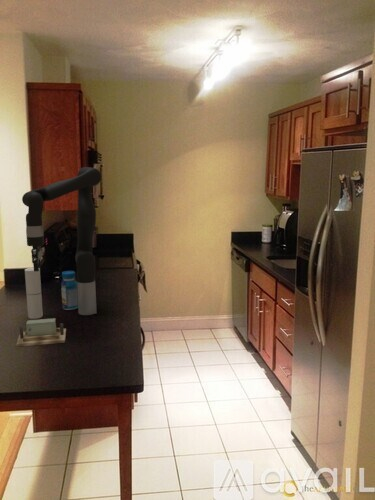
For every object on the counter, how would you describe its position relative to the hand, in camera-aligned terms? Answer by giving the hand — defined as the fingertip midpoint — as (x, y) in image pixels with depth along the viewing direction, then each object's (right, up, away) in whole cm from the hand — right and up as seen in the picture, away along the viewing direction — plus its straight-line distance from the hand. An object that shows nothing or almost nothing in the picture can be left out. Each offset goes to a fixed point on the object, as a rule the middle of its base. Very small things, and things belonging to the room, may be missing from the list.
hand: (37, 269), depth 207 cm
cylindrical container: (-7, -25, +18) cm, 32 cm away
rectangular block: (+6, -30, -11) cm, 32 cm away
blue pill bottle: (+7, -23, +31) cm, 39 cm away
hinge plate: (+6, -31, -10) cm, 33 cm away
